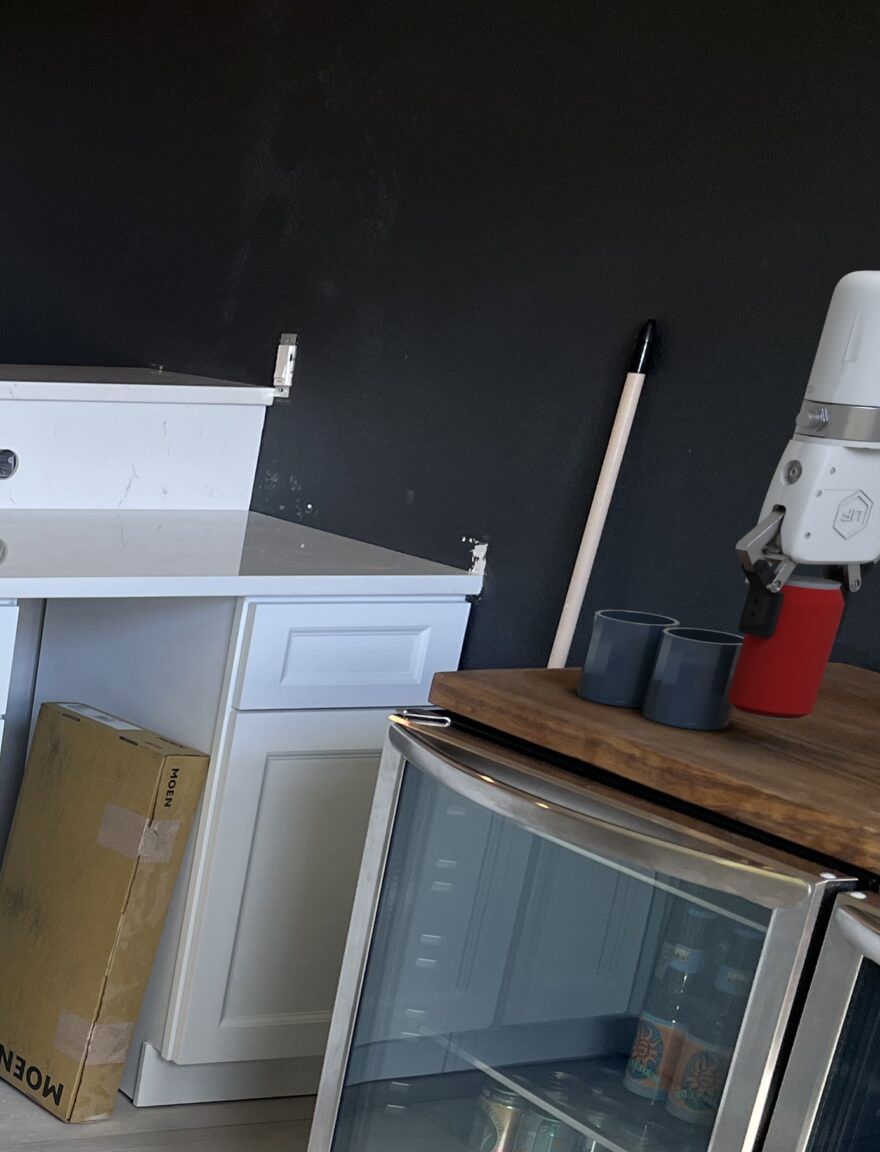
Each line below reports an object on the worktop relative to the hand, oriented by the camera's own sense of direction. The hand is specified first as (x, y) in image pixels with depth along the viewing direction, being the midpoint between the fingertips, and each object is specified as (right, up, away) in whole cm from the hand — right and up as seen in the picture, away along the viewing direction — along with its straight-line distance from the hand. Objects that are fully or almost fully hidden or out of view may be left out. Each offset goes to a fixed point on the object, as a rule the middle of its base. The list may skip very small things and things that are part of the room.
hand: (788, 632), depth 166 cm
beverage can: (0, -7, +2) cm, 7 cm away
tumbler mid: (-3, -6, +11) cm, 13 cm away
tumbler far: (-5, -3, +18) cm, 19 cm away
